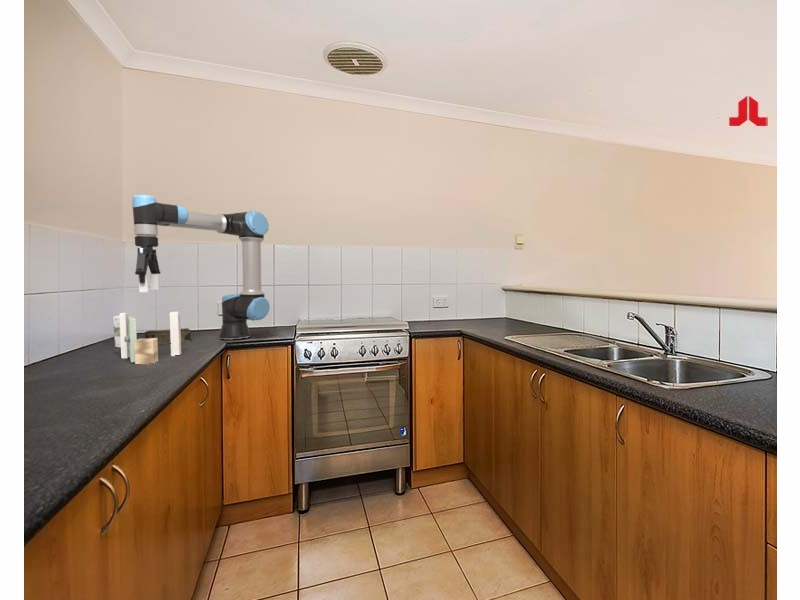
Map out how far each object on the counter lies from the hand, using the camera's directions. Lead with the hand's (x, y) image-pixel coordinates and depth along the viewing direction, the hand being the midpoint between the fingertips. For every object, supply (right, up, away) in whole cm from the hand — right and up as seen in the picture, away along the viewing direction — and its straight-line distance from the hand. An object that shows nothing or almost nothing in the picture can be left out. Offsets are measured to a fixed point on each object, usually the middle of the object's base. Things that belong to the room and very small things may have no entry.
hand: (149, 291), depth 148 cm
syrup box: (-28, -25, +25) cm, 45 cm away
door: (-7, -27, -1) cm, 27 cm away
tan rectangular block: (+2, -27, -4) cm, 28 cm away
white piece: (-3, -27, +7) cm, 28 cm away
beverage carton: (-15, -25, +37) cm, 47 cm away
